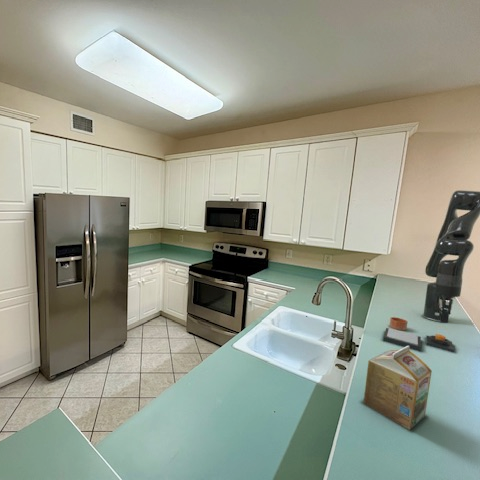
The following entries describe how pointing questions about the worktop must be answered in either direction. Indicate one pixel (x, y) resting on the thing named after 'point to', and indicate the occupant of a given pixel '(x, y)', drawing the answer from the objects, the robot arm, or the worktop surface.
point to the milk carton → (398, 386)
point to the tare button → (440, 337)
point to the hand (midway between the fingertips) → (443, 319)
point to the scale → (402, 339)
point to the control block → (439, 343)
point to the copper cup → (398, 323)
